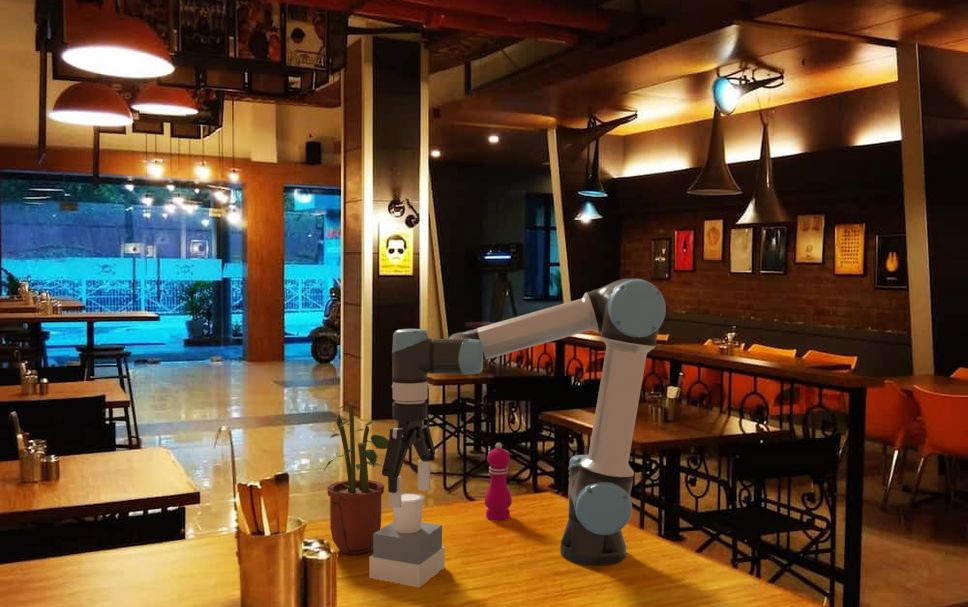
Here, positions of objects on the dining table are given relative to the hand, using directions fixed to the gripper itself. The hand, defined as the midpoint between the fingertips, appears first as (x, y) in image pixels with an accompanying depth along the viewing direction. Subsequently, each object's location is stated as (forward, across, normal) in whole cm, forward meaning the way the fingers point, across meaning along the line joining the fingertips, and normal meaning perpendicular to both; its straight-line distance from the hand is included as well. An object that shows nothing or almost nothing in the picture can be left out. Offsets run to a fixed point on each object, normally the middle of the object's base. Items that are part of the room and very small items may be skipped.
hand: (409, 498), depth 172 cm
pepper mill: (+17, -43, +4) cm, 46 cm away
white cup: (+7, 0, 0) cm, 7 cm away
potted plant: (+16, -9, -19) cm, 27 cm away
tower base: (+17, 0, 0) cm, 17 cm away
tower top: (+12, +1, 0) cm, 12 cm away
